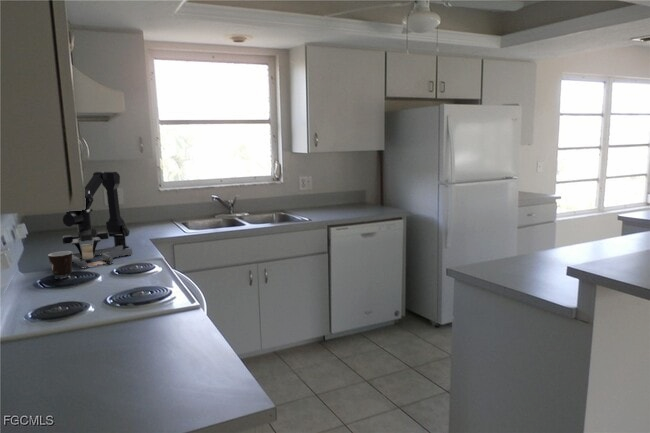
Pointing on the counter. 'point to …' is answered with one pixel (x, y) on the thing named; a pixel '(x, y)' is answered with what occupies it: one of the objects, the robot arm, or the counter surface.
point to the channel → (103, 254)
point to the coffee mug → (61, 262)
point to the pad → (96, 263)
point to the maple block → (87, 251)
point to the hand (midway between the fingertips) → (87, 255)
